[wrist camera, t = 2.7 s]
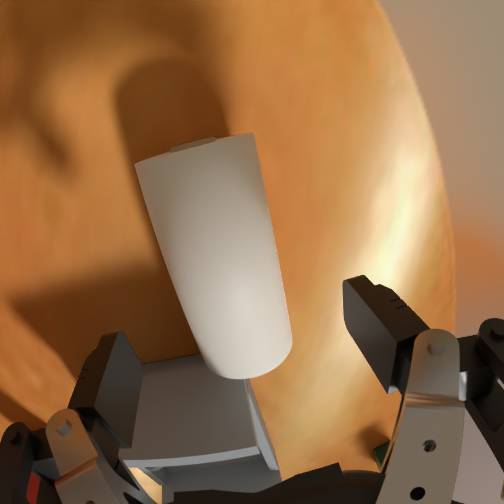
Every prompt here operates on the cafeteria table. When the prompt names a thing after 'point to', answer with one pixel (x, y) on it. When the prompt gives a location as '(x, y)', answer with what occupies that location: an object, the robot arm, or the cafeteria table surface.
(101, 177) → the cafeteria table surface
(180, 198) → the roll
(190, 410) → the holder
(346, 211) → the cafeteria table surface
